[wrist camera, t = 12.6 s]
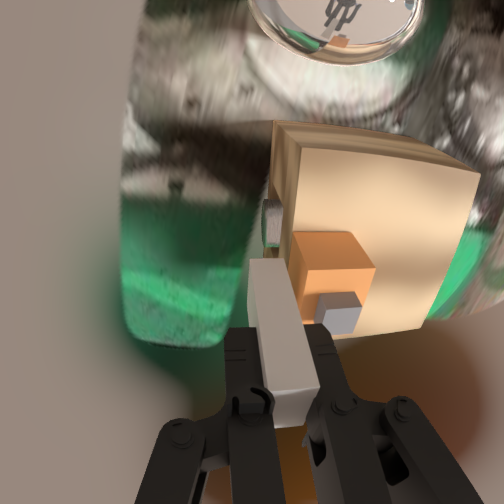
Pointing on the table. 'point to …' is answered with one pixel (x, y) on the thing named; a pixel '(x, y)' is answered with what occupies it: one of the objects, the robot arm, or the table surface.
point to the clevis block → (374, 210)
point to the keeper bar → (329, 279)
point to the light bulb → (339, 27)
